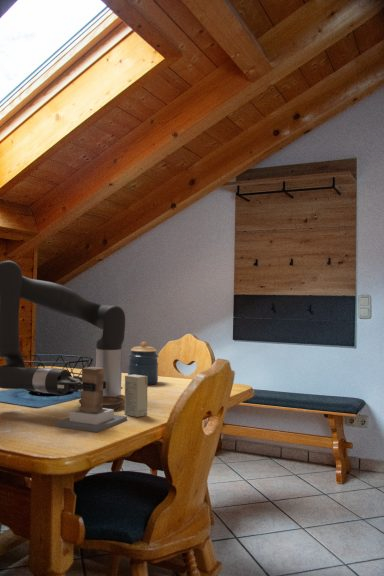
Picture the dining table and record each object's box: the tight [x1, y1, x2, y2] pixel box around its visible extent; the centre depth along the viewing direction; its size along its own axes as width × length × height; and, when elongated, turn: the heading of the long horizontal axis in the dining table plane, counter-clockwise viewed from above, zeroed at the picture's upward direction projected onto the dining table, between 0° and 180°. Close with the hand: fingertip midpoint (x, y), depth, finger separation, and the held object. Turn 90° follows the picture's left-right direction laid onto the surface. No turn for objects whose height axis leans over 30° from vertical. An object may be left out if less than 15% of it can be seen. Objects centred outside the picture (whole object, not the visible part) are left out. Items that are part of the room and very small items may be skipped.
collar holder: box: [53, 408, 128, 433], centre depth 147 cm, size 16×14×4 cm
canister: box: [127, 341, 159, 386], centre depth 217 cm, size 13×13×18 cm
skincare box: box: [124, 374, 148, 418], centre depth 159 cm, size 6×4×12 cm
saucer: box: [78, 396, 125, 411], centre depth 168 cm, size 15×15×3 cm
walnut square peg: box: [79, 366, 104, 412], centre depth 147 cm, size 4×4×12 cm
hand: (100, 386), depth 146 cm, fingers closed on walnut square peg, 4 cm apart
